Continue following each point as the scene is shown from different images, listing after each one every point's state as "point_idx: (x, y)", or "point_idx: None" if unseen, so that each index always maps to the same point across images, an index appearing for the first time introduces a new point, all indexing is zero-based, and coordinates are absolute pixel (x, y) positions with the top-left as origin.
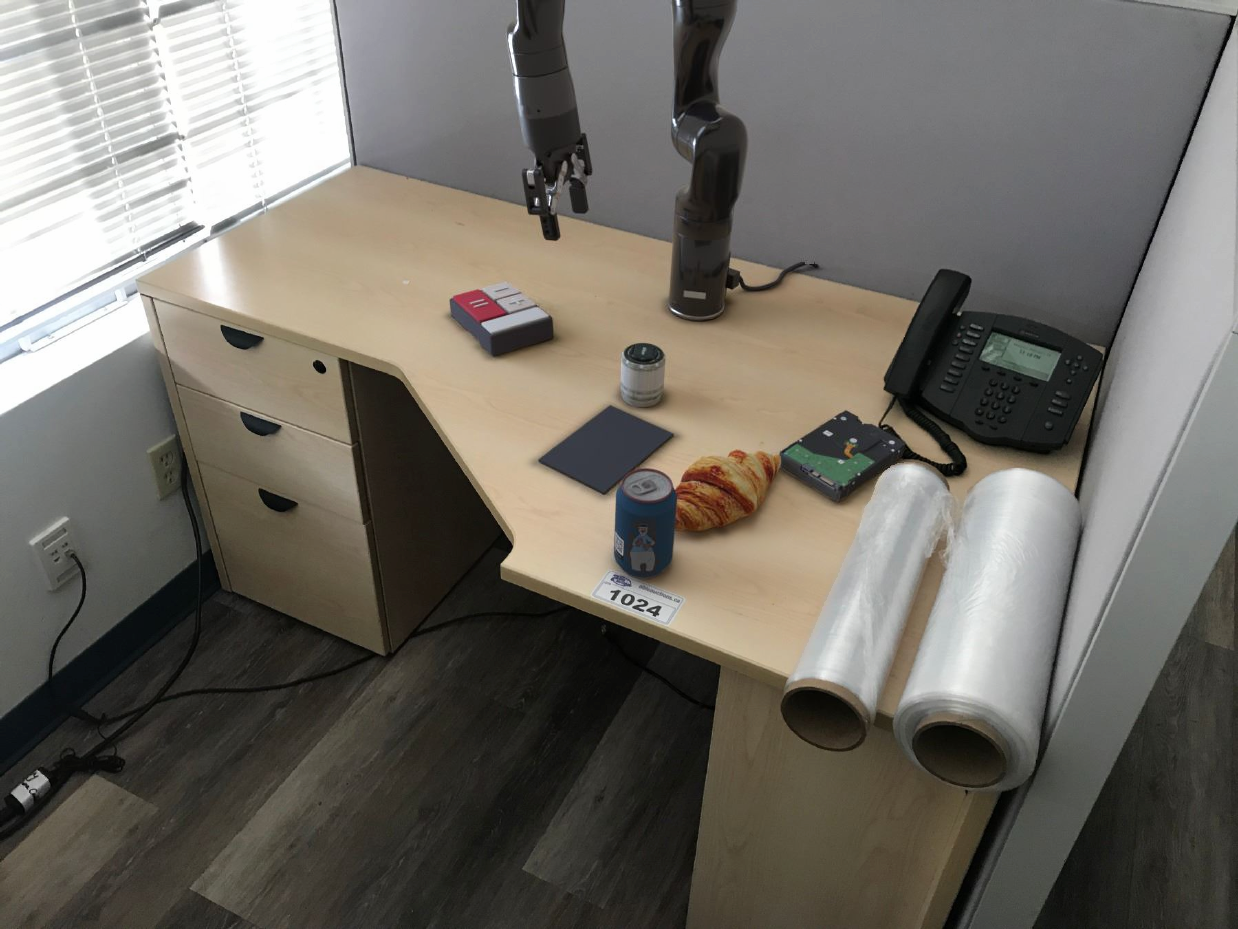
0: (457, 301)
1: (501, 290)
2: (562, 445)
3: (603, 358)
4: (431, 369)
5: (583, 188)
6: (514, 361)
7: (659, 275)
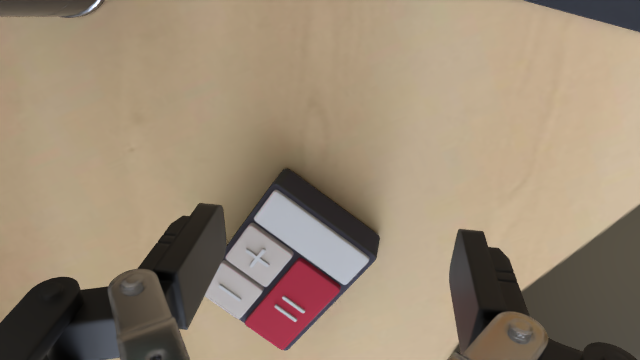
0: (293, 339)
1: (232, 290)
2: (627, 17)
3: (307, 61)
4: (447, 305)
5: (172, 269)
6: (377, 200)
7: (8, 69)
